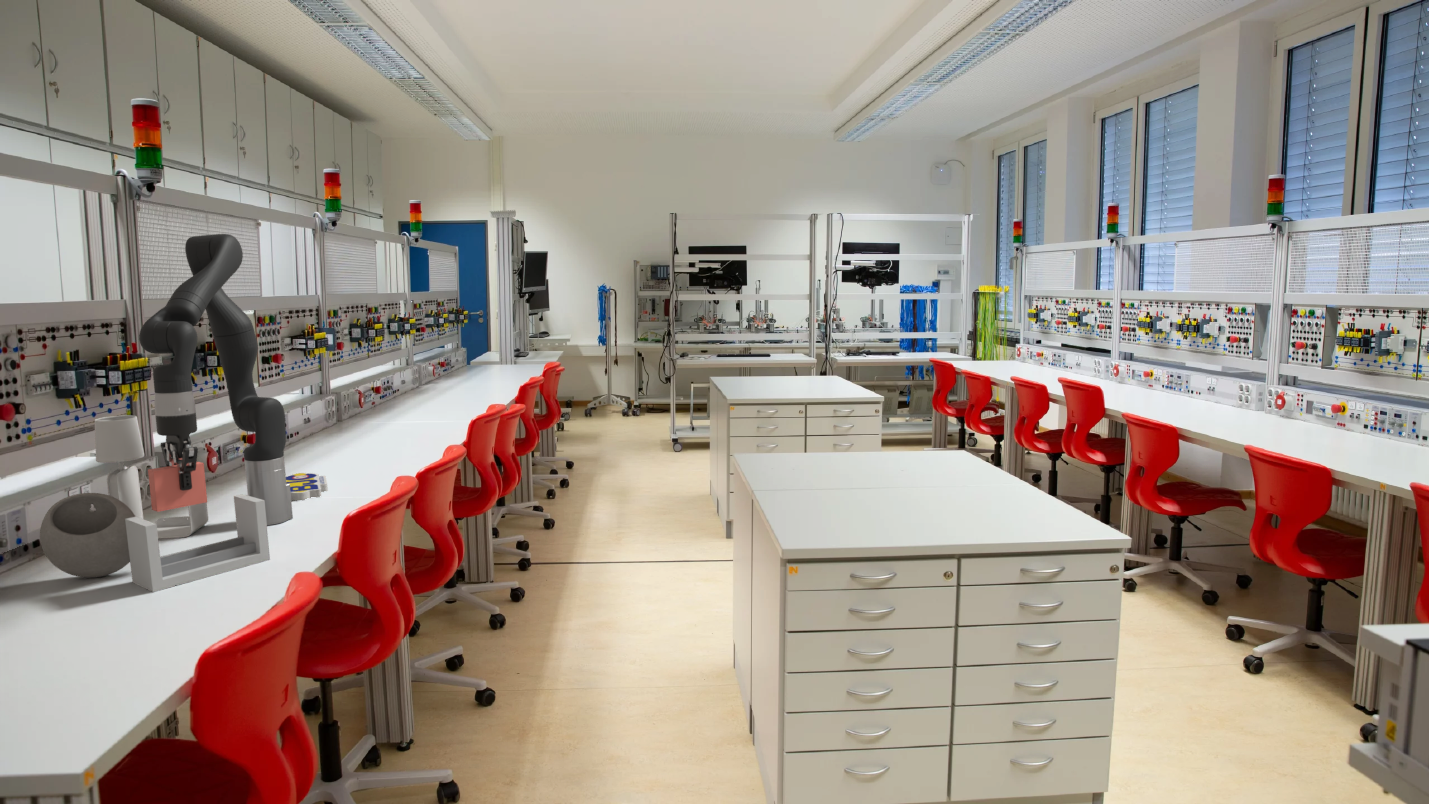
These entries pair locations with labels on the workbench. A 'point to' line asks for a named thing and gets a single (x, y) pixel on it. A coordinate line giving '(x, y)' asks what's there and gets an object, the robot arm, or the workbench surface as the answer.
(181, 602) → the workbench surface
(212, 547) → the u-shaped grey holder
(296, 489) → the sign
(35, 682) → the workbench surface
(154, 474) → the red rectangular block
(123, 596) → the workbench surface
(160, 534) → the wall lamp
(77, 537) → the planter
